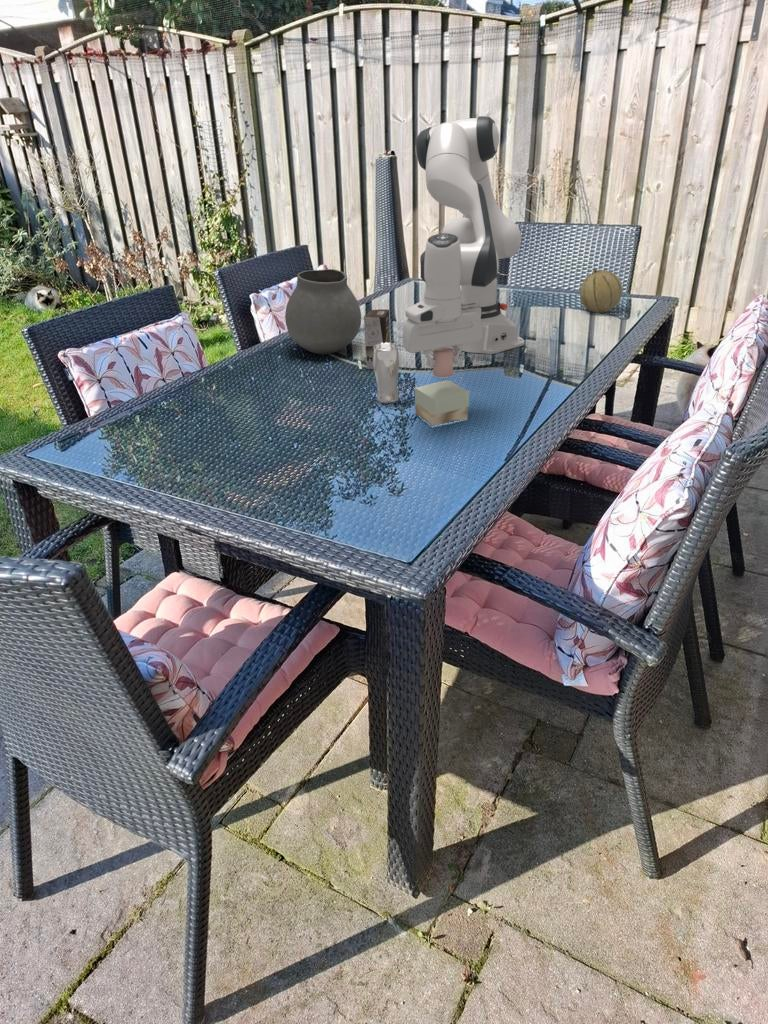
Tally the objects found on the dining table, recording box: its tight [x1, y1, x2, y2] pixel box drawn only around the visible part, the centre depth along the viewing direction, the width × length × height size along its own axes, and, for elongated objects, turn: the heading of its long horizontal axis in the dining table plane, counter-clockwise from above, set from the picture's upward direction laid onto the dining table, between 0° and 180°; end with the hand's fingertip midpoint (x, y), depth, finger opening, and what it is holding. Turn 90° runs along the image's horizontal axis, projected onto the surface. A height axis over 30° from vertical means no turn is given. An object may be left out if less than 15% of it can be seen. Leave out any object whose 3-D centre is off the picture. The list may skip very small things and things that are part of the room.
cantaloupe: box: [579, 269, 623, 313], centre depth 253 cm, size 15×15×15 cm
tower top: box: [414, 379, 470, 415], centre depth 178 cm, size 10×10×4 cm
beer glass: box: [373, 342, 400, 405], centre depth 189 cm, size 7×7×15 cm
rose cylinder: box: [432, 347, 454, 378], centre depth 173 cm, size 5×5×6 cm
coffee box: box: [363, 309, 392, 370], centre depth 214 cm, size 9×6×16 cm
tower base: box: [414, 402, 469, 426], centre depth 180 cm, size 10×10×4 cm
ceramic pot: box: [284, 268, 362, 355], centre depth 226 cm, size 24×24×25 cm
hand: (442, 363), depth 173 cm, fingers closed on rose cylinder, 5 cm apart
